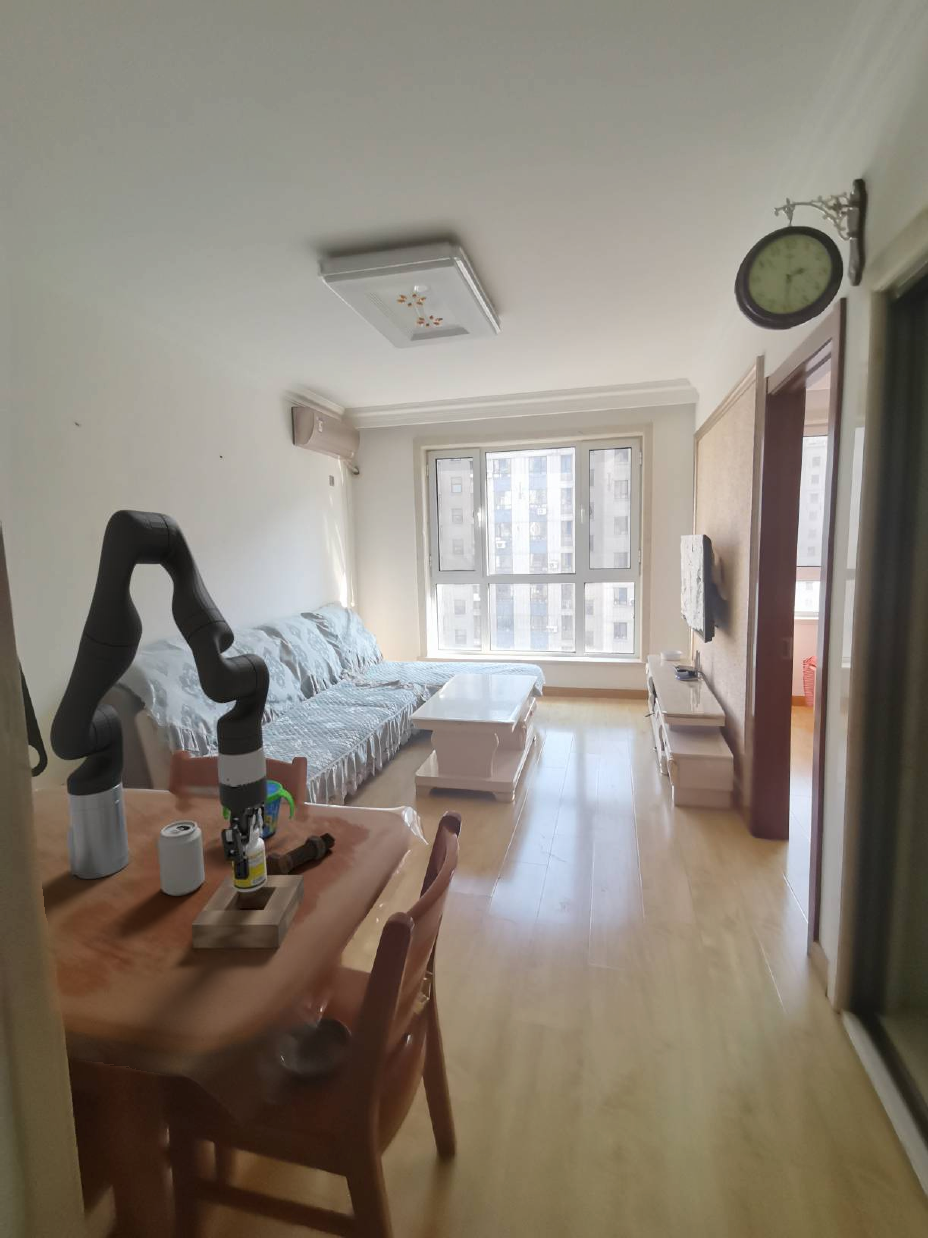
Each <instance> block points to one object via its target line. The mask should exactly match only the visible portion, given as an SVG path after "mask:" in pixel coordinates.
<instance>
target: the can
mask: <svg viewBox="0 0 928 1238" xmlns="http://www.w3.org/2000/svg"><path fill="white" fill-rule="evenodd" d="M202 838H203V836H202V829H201V828H199V827H198V823H197V822H196V821H192V820H181V821H175V822H173V823H172V822H171V823H169V824H168V825H166V826H164V827H163V828H162V829H161V830H160V835H159V837H158V838H157V850H158V853H157V855H158V863H159V874H160V886H161V890H162V891H163V893H165V894H167V895H170V896H173V897H174V896H175V897H179V896H185V895H187V894H188V895H189V894H190V893H192V892H194V891H196V890H197V889H199V887H200V886H201V885H202V884H203V883H204V881H205V880H206V876H205V863H204V851H203V839H202Z"/></svg>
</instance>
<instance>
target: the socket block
mask: <svg viewBox="0 0 928 1238" xmlns="http://www.w3.org/2000/svg"><path fill="white" fill-rule="evenodd" d="M304 881H305V880H304V875H302V874H287V875H267V881H266V883H265V884H264V885H263V886H262V887H261V888H259V889H257V890H255V891H251V892H239V891H237V890H236V889H235V888H234V883H233V874H232V875H231V874H230V875H227V876H226V877H225V879H224V880H223V881H222V883H221V884H220V885H219V887H218V888H217V889H216V891H215V893H214V894H213V895H212V896H211V898H210V899H209V901H208V902H207V903H206V905H205V906H204V907H203V908H202V910H201V911H200V913H199V914H198V915H197V917H196V918H195V919H194V921H193V922H192V923H191V924H190V925H191V935H192V936H191V937H192V948H193V949H208V948H209V949H213V948H214V949H216V948H217V949H222V948H223V949H225V948H226V949H228V948H229V949H231V948H232V949H234V948H237V949H238V948H240V949H243V948H248V949H250V948H251V949H253V948H254V949H255V948H256V949H257V948H259V949H260V948H269V949H270V948H274V949H275V948H277V949H278V948H280V947H281V945H282V943H283V942H284V939H285V937H286V935H287V932H288V931H289V928H290V926H291V924H292V922H293V920H294V918H295V916H296V913H297V912H298V910H299V908H300V904H302V901H303V899H304V897H305V882H304ZM242 909H245V910H242ZM247 909H248V910H247ZM249 909H250V910H249ZM251 909H252V910H251ZM254 909H255V910H254ZM256 909H257V910H256ZM261 909H262V910H261Z"/></svg>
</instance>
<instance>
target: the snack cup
mask: <svg viewBox="0 0 928 1238" xmlns="http://www.w3.org/2000/svg"><path fill="white" fill-rule="evenodd" d="M267 791H268V796H267V808H266V829H262V830H263V836H262V838H261V839H265V838H266V837H268V836H271V835H272V834H274V833H275V832H276V831H277V829H278V824H279V818H280V817H279V815H280V807H281V801H282V797H283V798H284V799H285V800H286V803H288V804H289V806H290V807H289V817H288V819H289V820H292V818H293V816H294V812H295V803H294V799H293V797H292V795H291V794H290V793H289V792H288V791H287V790H285V789H284V788H283V785H282V784H281V783H280V782H277V781H275V780H267ZM230 813H231V812H230V810H228V809H227V808H225V807H223V806H222V816H223V817H222V818H223V819H224V820H227V819H228V820H229V818H230Z"/></svg>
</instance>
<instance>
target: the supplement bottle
mask: <svg viewBox="0 0 928 1238" xmlns="http://www.w3.org/2000/svg"><path fill="white" fill-rule="evenodd" d="M246 837H247V835H245V836H240V838H246ZM242 849H243V844H242ZM266 858H267V857H266V848H265V840H263V838H259V828H258V827H257V826H255V828H254V829H253V835H252V842H251V843H249V847H248V862H249V877H248V878H247V879H246V880H237V879H235V875H234V861H231V868H232V875H233V883H234V888H235V889H236V890H237V891H239V892H251V891H255V890H257V889H259V888H261V887H262V886H263V885H264V884H265V883H266V881H267V872H266Z"/></svg>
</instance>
